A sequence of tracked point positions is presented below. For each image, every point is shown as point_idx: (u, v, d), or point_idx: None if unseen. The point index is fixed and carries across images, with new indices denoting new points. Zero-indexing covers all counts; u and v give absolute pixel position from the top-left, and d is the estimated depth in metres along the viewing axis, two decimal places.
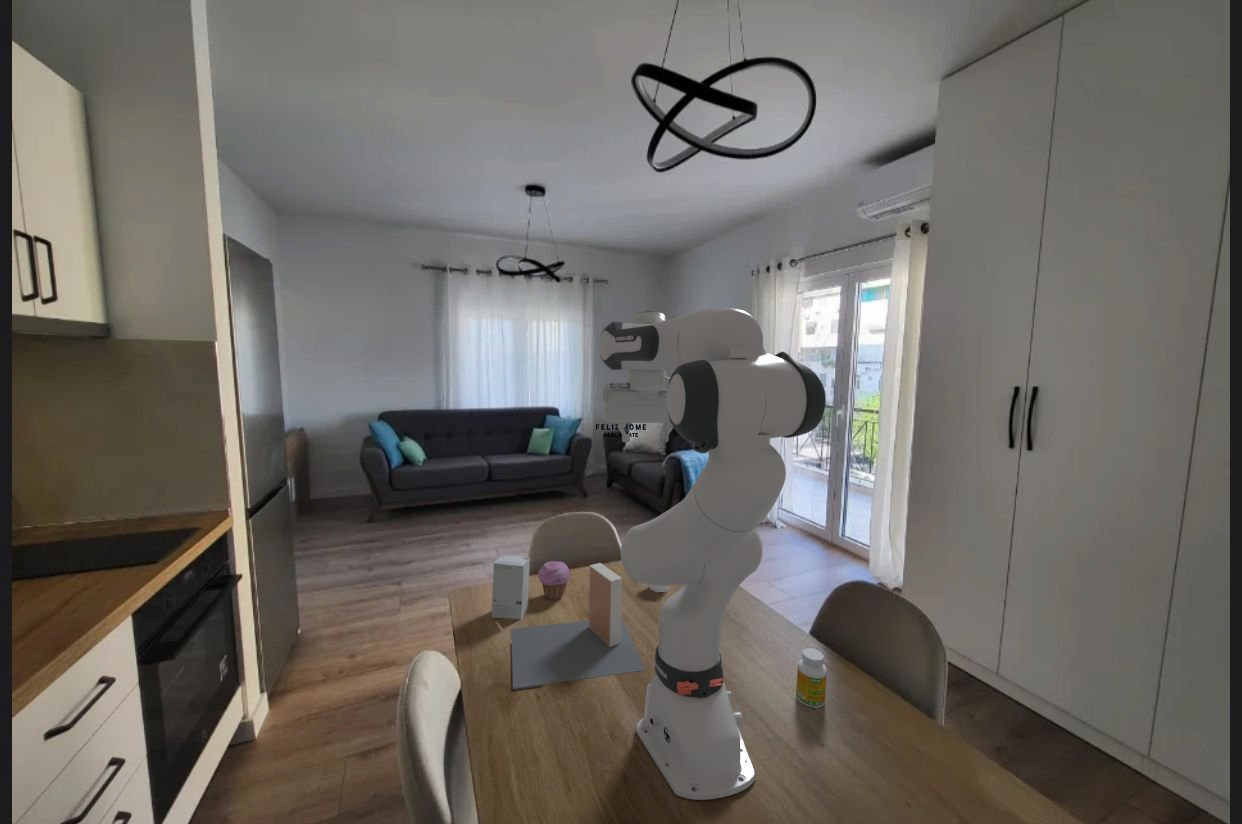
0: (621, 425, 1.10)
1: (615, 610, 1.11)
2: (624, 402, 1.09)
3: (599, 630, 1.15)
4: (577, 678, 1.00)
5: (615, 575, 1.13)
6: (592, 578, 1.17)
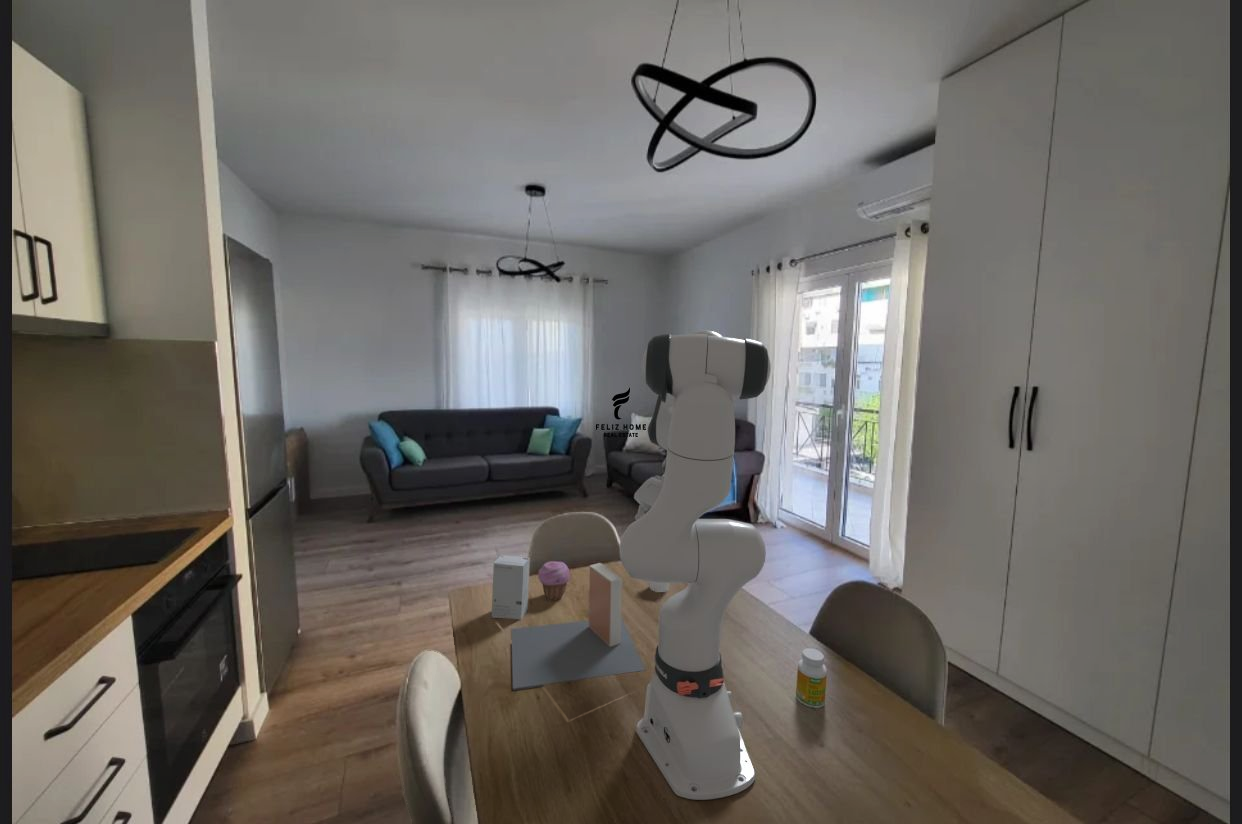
0: (641, 504, 1.26)
1: (615, 610, 1.11)
2: (651, 487, 1.27)
3: (599, 630, 1.15)
4: (577, 678, 1.00)
5: (615, 575, 1.13)
6: (592, 578, 1.17)
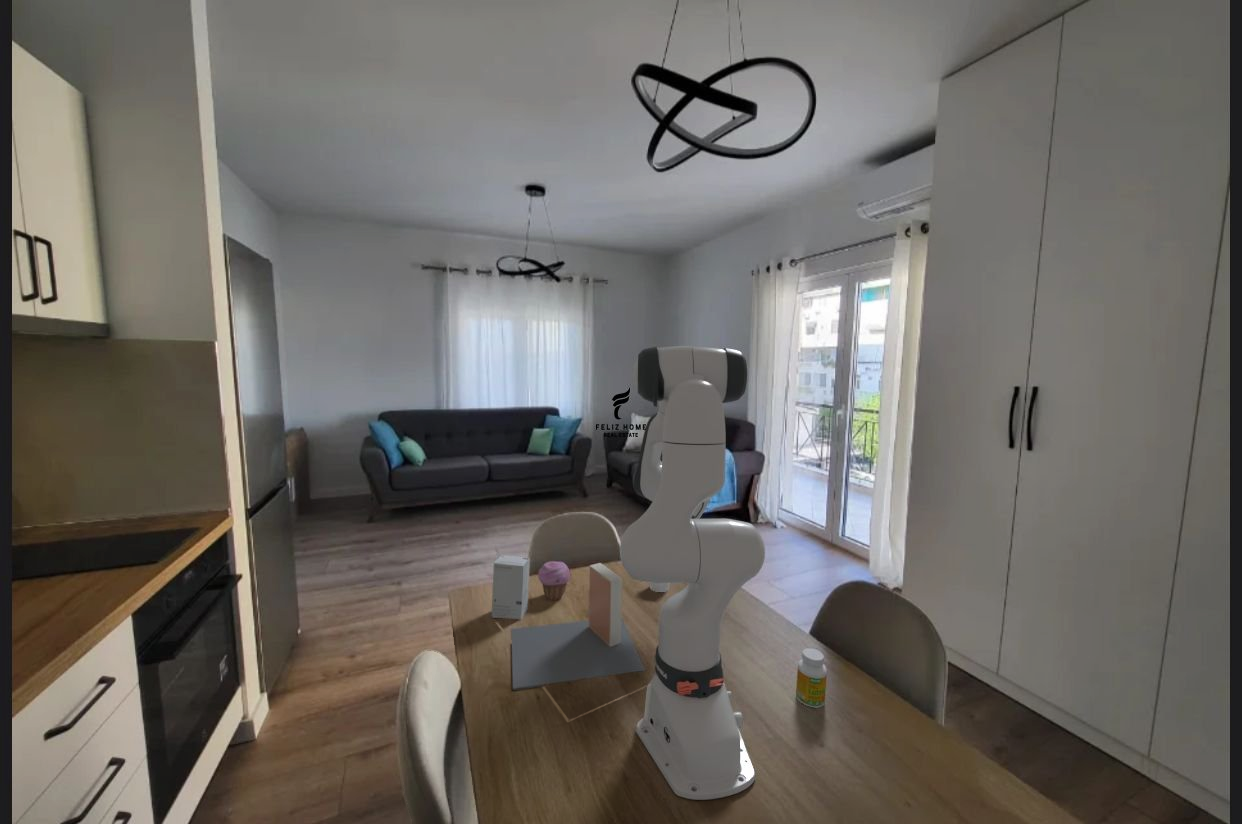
0: None
1: (615, 610, 1.11)
2: None
3: (599, 630, 1.15)
4: (577, 678, 1.00)
5: (615, 575, 1.13)
6: (592, 578, 1.17)
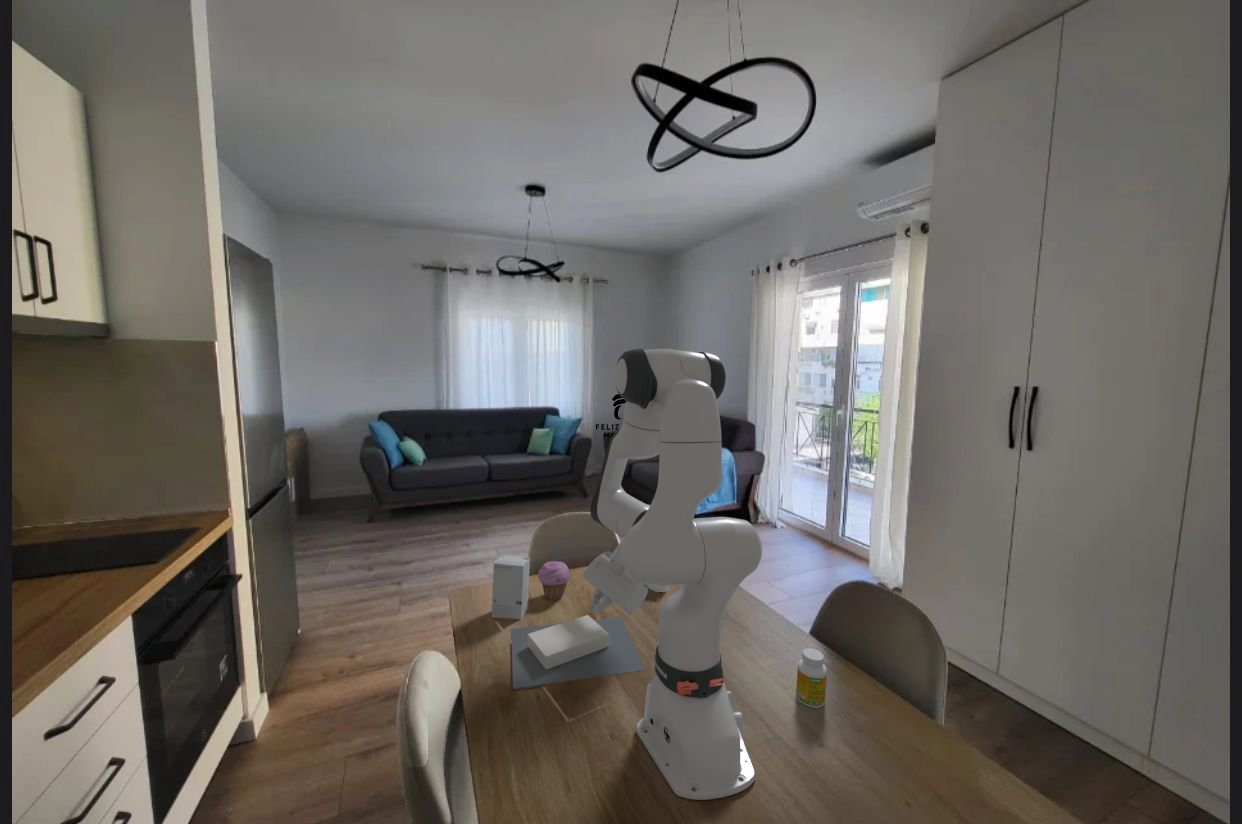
0: (595, 591, 1.16)
1: (576, 653, 1.06)
2: (600, 566, 1.21)
3: None
4: (577, 678, 1.00)
5: (542, 654, 1.04)
6: None
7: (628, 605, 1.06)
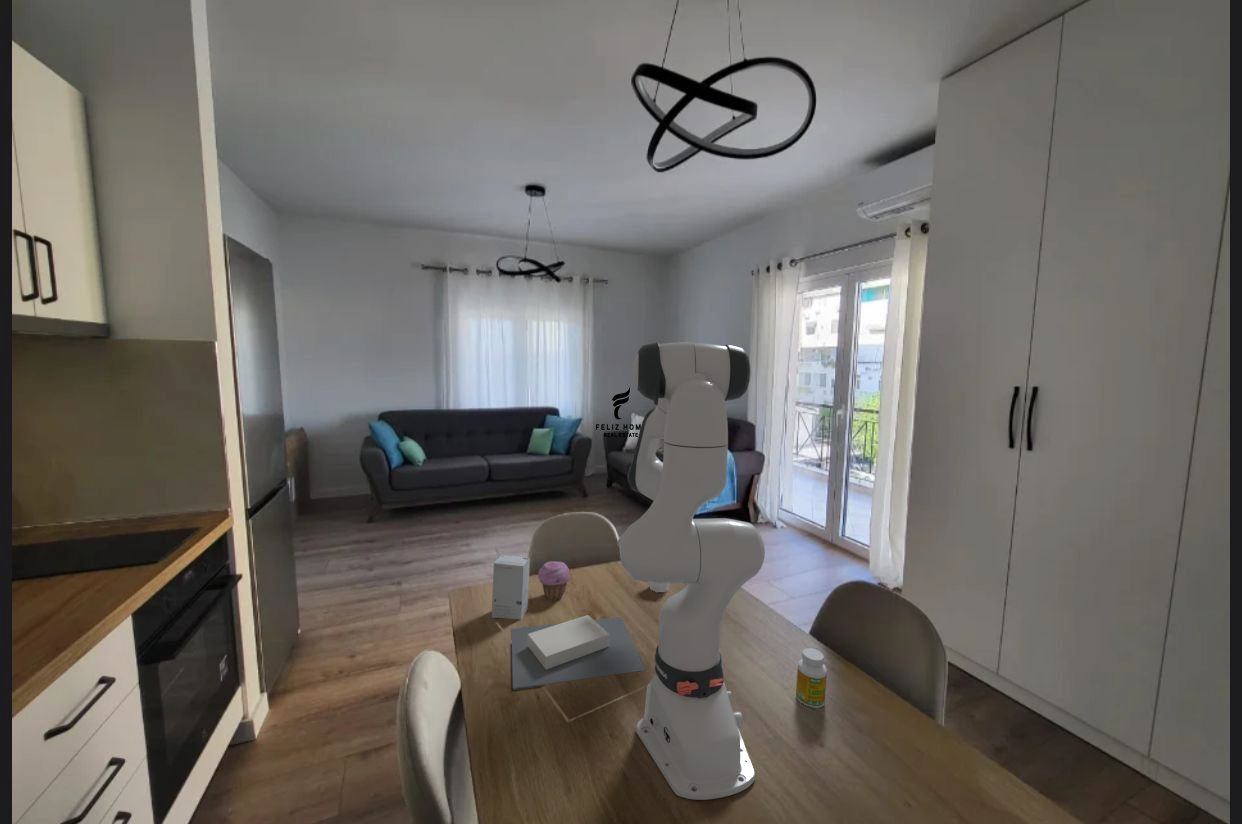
0: None
1: (576, 653, 1.06)
2: None
3: None
4: (577, 678, 1.00)
5: (542, 654, 1.04)
6: None
7: None
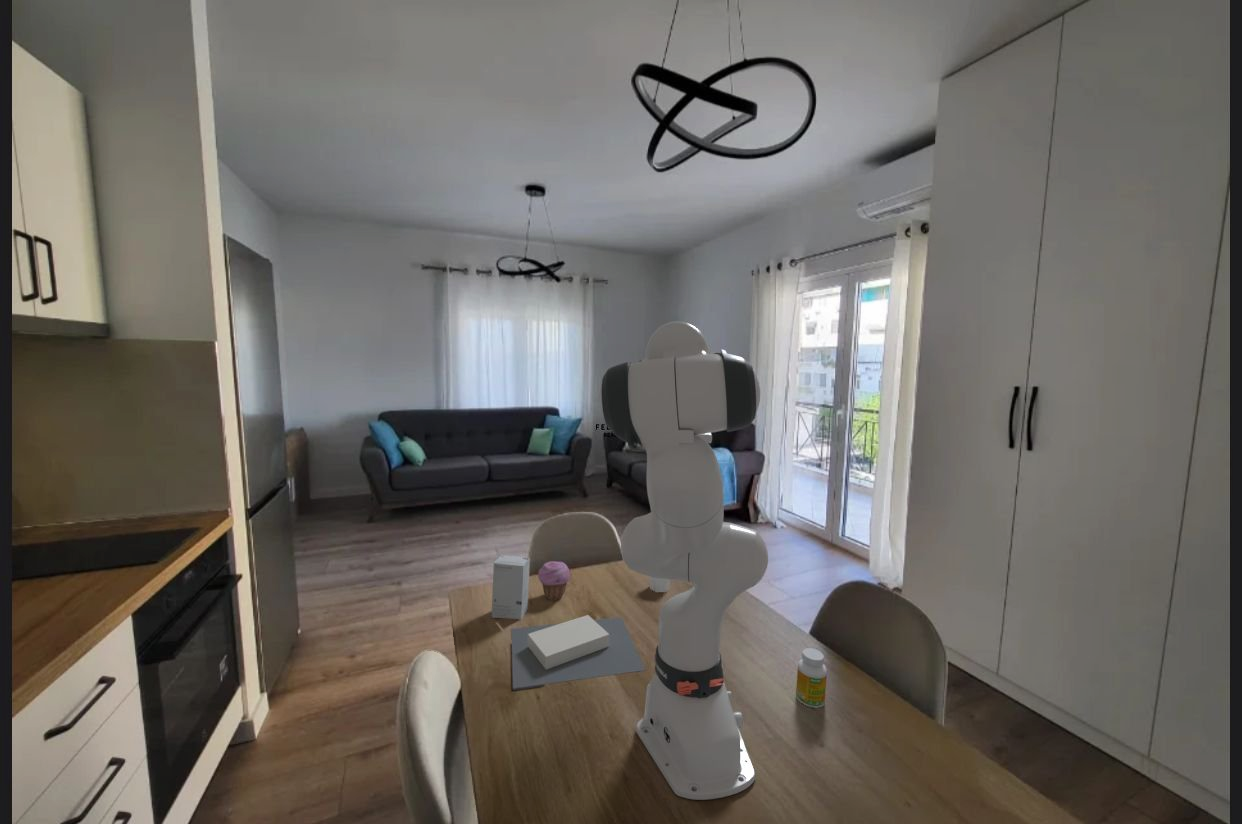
0: None
1: (576, 653, 1.06)
2: None
3: None
4: (577, 678, 1.00)
5: (542, 654, 1.04)
6: None
7: None
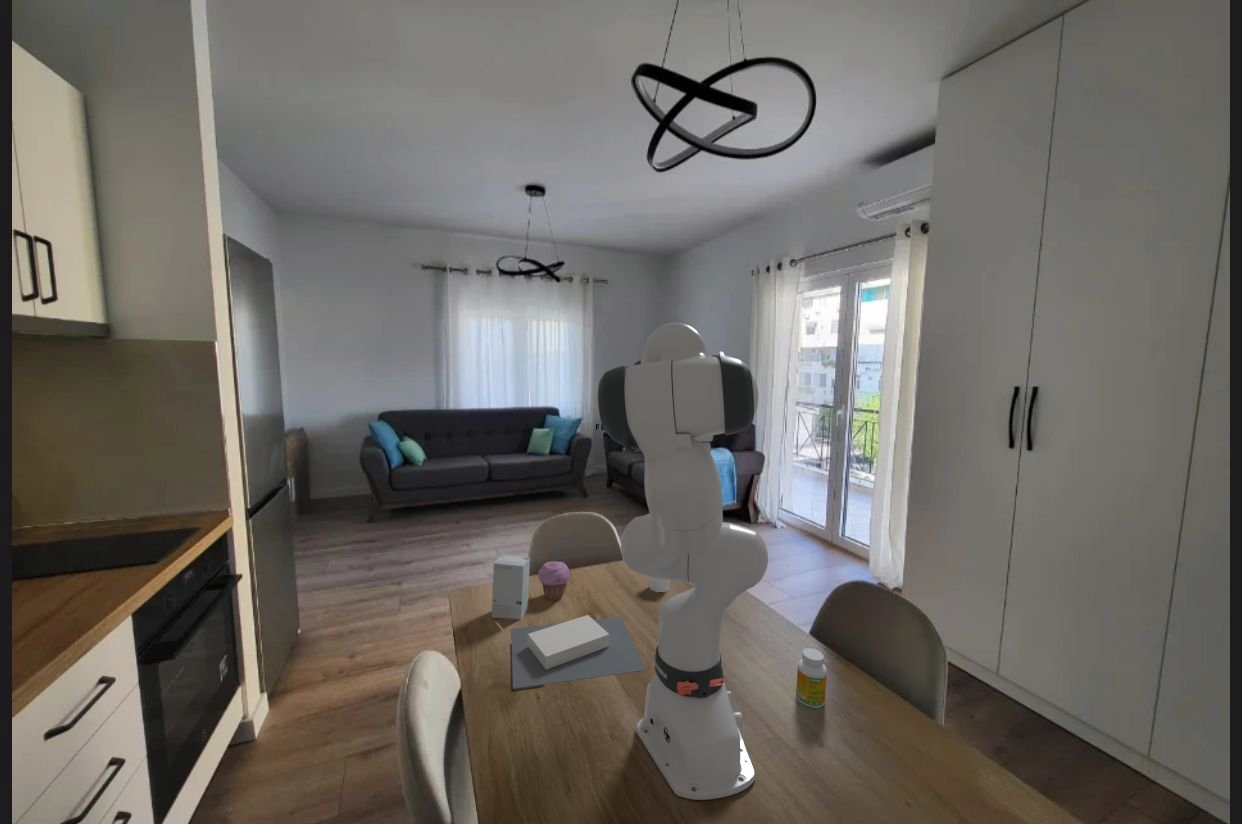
0: None
1: (576, 653, 1.06)
2: None
3: None
4: (577, 678, 1.00)
5: (542, 654, 1.04)
6: None
7: None
